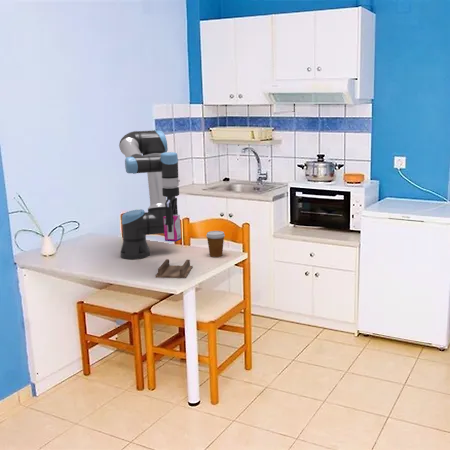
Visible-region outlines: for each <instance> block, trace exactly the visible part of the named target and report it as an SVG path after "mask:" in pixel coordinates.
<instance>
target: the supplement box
mask: <svg viewBox="0 0 450 450" xmlns="http://www.w3.org/2000/svg"><path fill="white" fill-rule="evenodd" d="M163 219H164V234H163V235H164V242H177V241H180V240H182V234H181V233H182V231H181V215H180V214H178V215H173V225H174V239H168V231H167V225H165V223H166V216H164V217H163Z"/></svg>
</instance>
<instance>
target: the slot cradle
mask: <svg viewBox="0 0 450 450" xmlns="http://www.w3.org/2000/svg"><path fill="white" fill-rule="evenodd" d="M193 268H194V267H193V265H191V260H190V259H186V260H185V261H184V262H183V264H182V265H170V259H167V258H166V259H165V260H164V261H163V262H162V264H161V265H160V266H159V267H158V268H157V273H156V274H155V278H159V279H160V278H163V279H164V278H167V279H187V277H188V275H190V272H191V271H192V270H191V269H193Z"/></svg>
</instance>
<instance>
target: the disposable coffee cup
mask: <svg viewBox="0 0 450 450" xmlns="http://www.w3.org/2000/svg"><path fill="white" fill-rule="evenodd" d="M225 236H226V235H225V232H224V231H222V230H210V231H208V232H207V233H206V235H205V237H206V239H207V245H208V251H209V256H210V257H211V258H219V257H220V258H221V257H222V256H223V252H224V251H223V250H224V242H225Z"/></svg>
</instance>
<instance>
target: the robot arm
mask: <svg viewBox="0 0 450 450" xmlns="http://www.w3.org/2000/svg"><path fill="white" fill-rule="evenodd" d="M118 146H119V150H120V152H121V153H122V154H123V155H124V156H125V159H124V166H125V167H124V168H125V172H126V173H127V174H134V175H136V174H145V173H146V174H147V183H148V184H147V185H148V194H149V195H148V197H149V204H150V205H149V207H148V208H147V211H145V210H144V209H134V210H133V209H132V210H129V211H125V212H124V213H123V214H122V216H121V225H122V229H121V230H122V240H123V241H122V245H121V249H120V257H121V258H122V259H127V260H139V259H140V260H141V259H144V258H148V257H149V256H150V255H151V250H150V246H149V244H148V242H147V235H160V234H161V235H164V219H163V217H164V216H166V223H165V225H167V231H168V239H174V225H173V215H179V213H178V196H179V195H180V187H179V185H180V183H179V182H180V181H181V180H180V179H179V159H178V157H179V156H178V152H176V151H175V152H174V151H173V152H172V151H169V150H168V149H169V148H168V140H167V137H166V134H165V133H164V131H162V130H156V129H154V130H140V131H139V130H134V131H130V132H128V133H126V134H125V135H123V136H122V137H121V139H120V140H119V145H118Z"/></svg>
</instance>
